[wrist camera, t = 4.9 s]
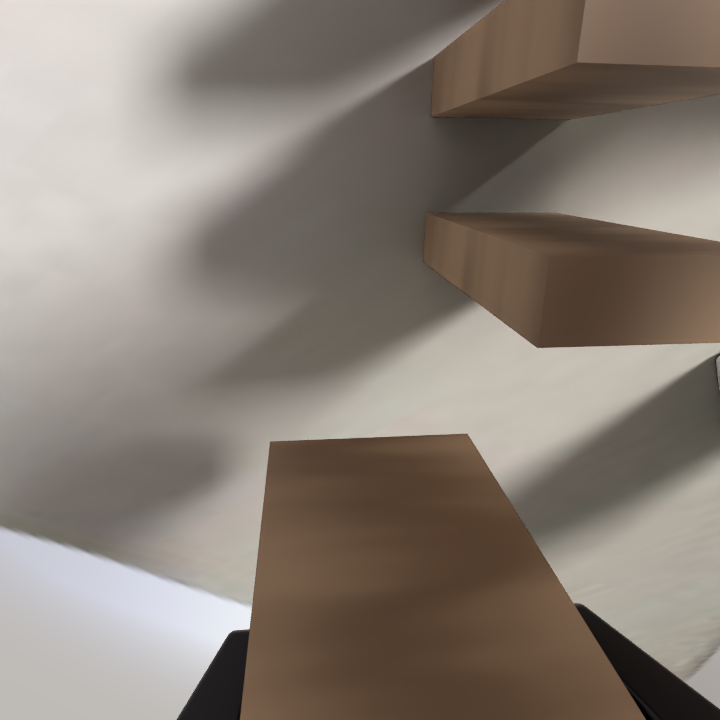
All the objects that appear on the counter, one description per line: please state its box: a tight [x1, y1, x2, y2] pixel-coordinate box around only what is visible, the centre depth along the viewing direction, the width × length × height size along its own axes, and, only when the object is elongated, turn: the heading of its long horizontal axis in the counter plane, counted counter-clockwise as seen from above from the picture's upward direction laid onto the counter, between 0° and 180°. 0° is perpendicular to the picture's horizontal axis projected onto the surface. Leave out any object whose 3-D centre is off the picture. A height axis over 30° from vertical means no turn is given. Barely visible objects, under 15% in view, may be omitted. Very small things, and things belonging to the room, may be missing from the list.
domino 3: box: [240, 434, 646, 720], centre depth 9 cm, size 5×2×10 cm, turn 89°
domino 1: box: [431, 0, 720, 120], centre depth 13 cm, size 5×2×10 cm, turn 89°
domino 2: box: [423, 213, 720, 348], centre depth 15 cm, size 5×2×10 cm, turn 90°
